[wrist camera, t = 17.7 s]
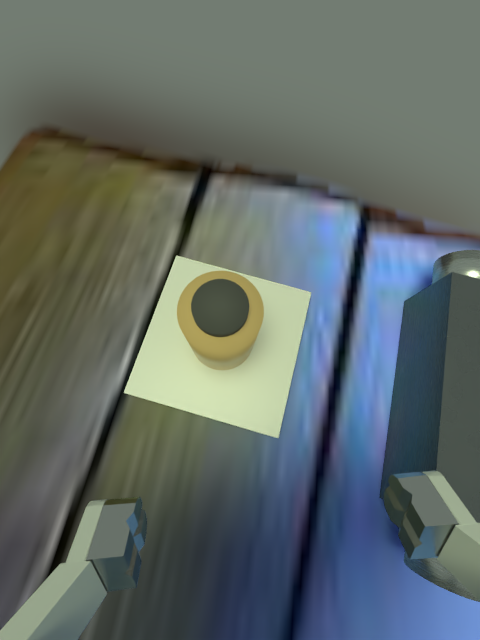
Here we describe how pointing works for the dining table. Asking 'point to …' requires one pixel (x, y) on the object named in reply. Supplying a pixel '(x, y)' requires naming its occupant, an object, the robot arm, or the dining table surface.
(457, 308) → the motor housing
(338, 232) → the dining table surface
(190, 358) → the far side pad
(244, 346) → the yellow cylinder
